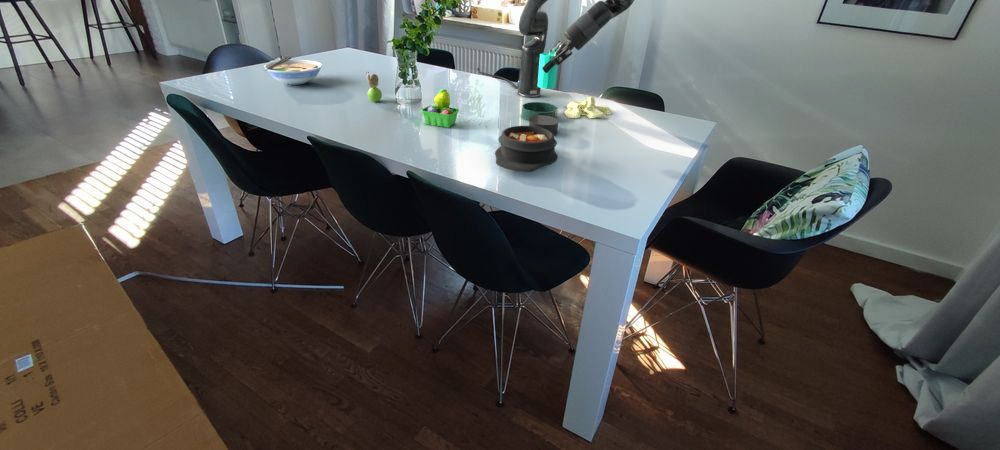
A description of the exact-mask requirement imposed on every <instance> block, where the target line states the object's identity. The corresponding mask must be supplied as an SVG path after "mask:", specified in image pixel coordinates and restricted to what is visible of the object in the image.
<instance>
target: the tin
mask: <svg viewBox="0 0 1000 450" xmlns="http://www.w3.org/2000/svg"><path fill="white" fill-rule="evenodd" d="M558 113H559V107H558V106H557V105H555V104H552V103H548V102H542V101H531V102H526V103H524V104H522V106H521V118H522V119H523V120H525V121H527V122H529V118H530V117H532V116H538V115H544V116H551V117H554V118H557V119H558Z"/></svg>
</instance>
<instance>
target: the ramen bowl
mask: <svg viewBox="0 0 1000 450" xmlns="http://www.w3.org/2000/svg"><path fill="white" fill-rule="evenodd" d="M322 66H323V64H322V63H321V62H319V61H314V60H310V59H309V60H307V59H292V56H289V57H288V56H285V57H283V58H281V59H280V60H277V61H272V62H269V63H266V64H265V65H264V66H263V67H264V70H265V71H267V73H268V74H269V75H270V76H271V77H272V78H273V79H274V80H277V81H279V82H281V83H285V84H287V85H291V86H299V85H304V84H306V83H308V82H310V81H312V80H314V79H315V78H316V77H317V76H318V74H319V72H320V71H321V69H322Z"/></svg>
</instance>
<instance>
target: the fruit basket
mask: <svg viewBox="0 0 1000 450" xmlns="http://www.w3.org/2000/svg"><path fill="white" fill-rule="evenodd" d="M433 100H434V104H430V105H428V106H425V107H423V108H422V109H420V111H421V113H422V116H423V119H424V123H425V125H429V126H436V127H442V128H450V127H452V126H454V125H455V124H456V120H457V117H458V113H459V108H455V107H450V104H451V100H450V93H449V92H448V91H447V89H443V88H442V89H440V90H439V92H438V93H437V95H436V96H435V97H434V99H433Z"/></svg>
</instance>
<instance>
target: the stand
mask: <svg viewBox="0 0 1000 450" xmlns="http://www.w3.org/2000/svg"><path fill="white" fill-rule="evenodd" d="M559 124H560V119H558V117H557V118H554V117H551V116H544V115H538V116H532V117H530V118H529V121H528V126H533V127H539V128H543V129H546V130H548V131H550V132H552V133H553V135H554V136H556V135H557V134H558V130H559Z"/></svg>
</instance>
